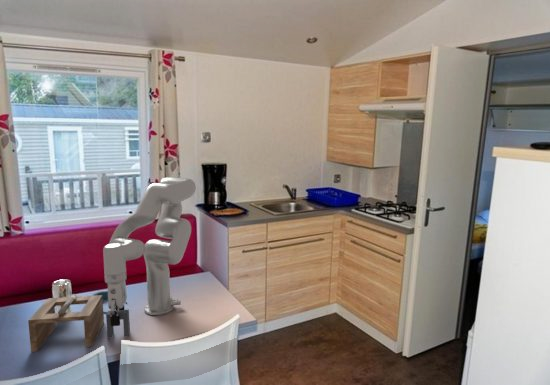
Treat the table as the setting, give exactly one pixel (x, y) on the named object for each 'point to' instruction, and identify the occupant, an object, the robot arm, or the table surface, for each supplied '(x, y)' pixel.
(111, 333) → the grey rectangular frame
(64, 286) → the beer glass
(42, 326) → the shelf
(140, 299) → the table surface
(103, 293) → the sunglasses
